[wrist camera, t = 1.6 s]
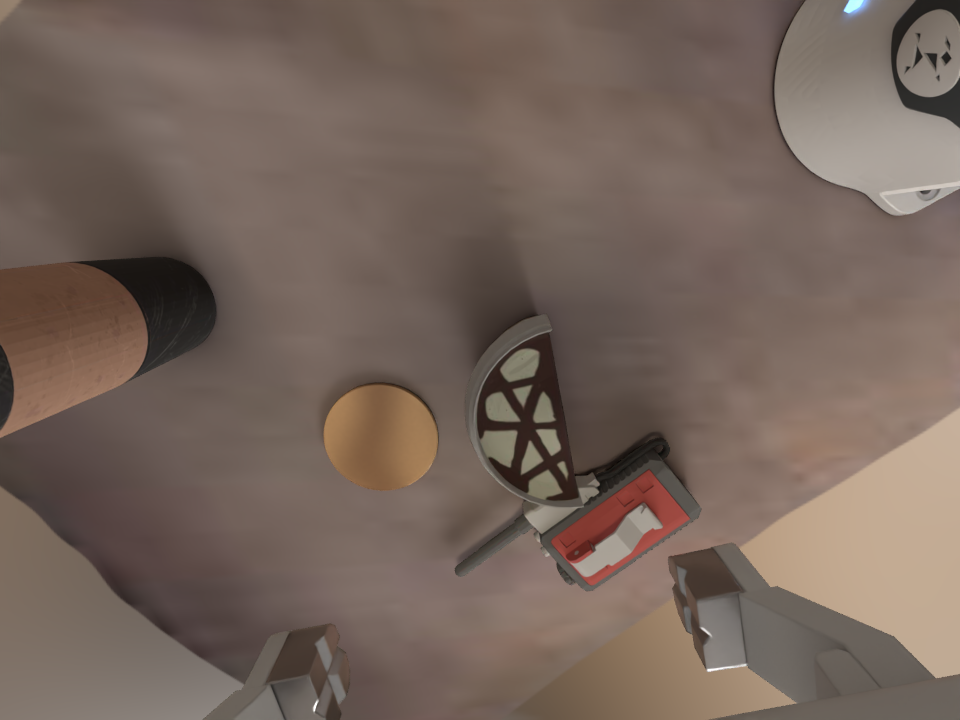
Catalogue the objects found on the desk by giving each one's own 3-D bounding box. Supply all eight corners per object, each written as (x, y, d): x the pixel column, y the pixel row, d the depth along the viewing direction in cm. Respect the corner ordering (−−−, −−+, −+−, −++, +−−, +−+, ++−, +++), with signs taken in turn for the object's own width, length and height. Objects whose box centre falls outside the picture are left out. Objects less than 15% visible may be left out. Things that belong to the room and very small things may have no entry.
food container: (452, 312, 39) (441, 342, 29) (534, 295, 38) (550, 319, 29) (486, 460, 42) (486, 532, 32) (562, 446, 42) (585, 514, 32)
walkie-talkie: (641, 411, 41) (448, 554, 44) (660, 433, 36) (444, 590, 40) (705, 488, 42) (514, 621, 46) (730, 518, 38) (517, 662, 42)
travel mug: (238, 293, 39) (-9, 367, 19) (190, 374, 40) (-82, 516, 21) (145, 231, 38) (-216, 243, 18) (99, 316, 39) (-276, 410, 20)
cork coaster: (414, 367, 40) (413, 368, 39) (454, 468, 42) (454, 471, 42) (306, 403, 41) (304, 405, 40) (352, 501, 43) (350, 504, 42)
